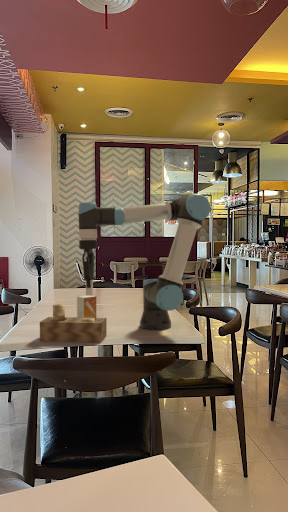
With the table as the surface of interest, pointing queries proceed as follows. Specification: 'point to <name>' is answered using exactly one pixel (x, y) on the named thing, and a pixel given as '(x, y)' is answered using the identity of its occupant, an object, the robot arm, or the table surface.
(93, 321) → the peg
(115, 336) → the table surface
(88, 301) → the small box
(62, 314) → the peg
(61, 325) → the socket block
